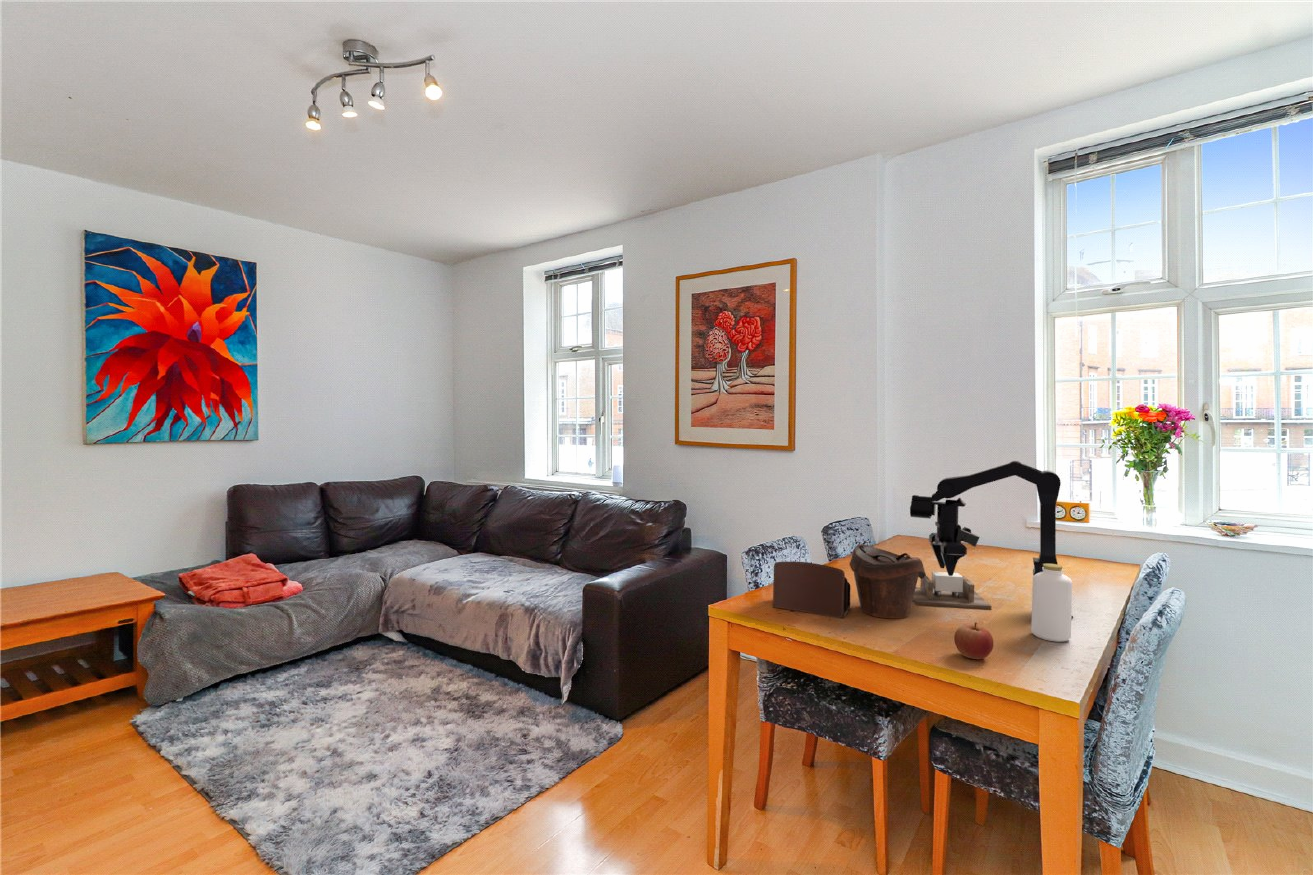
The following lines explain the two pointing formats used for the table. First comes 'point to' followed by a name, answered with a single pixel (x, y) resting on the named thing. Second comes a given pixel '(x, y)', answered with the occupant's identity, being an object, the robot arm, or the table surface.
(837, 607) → the letter holder
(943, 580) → the white rectangular block
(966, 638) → the apple
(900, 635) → the table surface
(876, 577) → the brown lidded bucket
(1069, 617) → the potion bottle
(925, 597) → the rack
